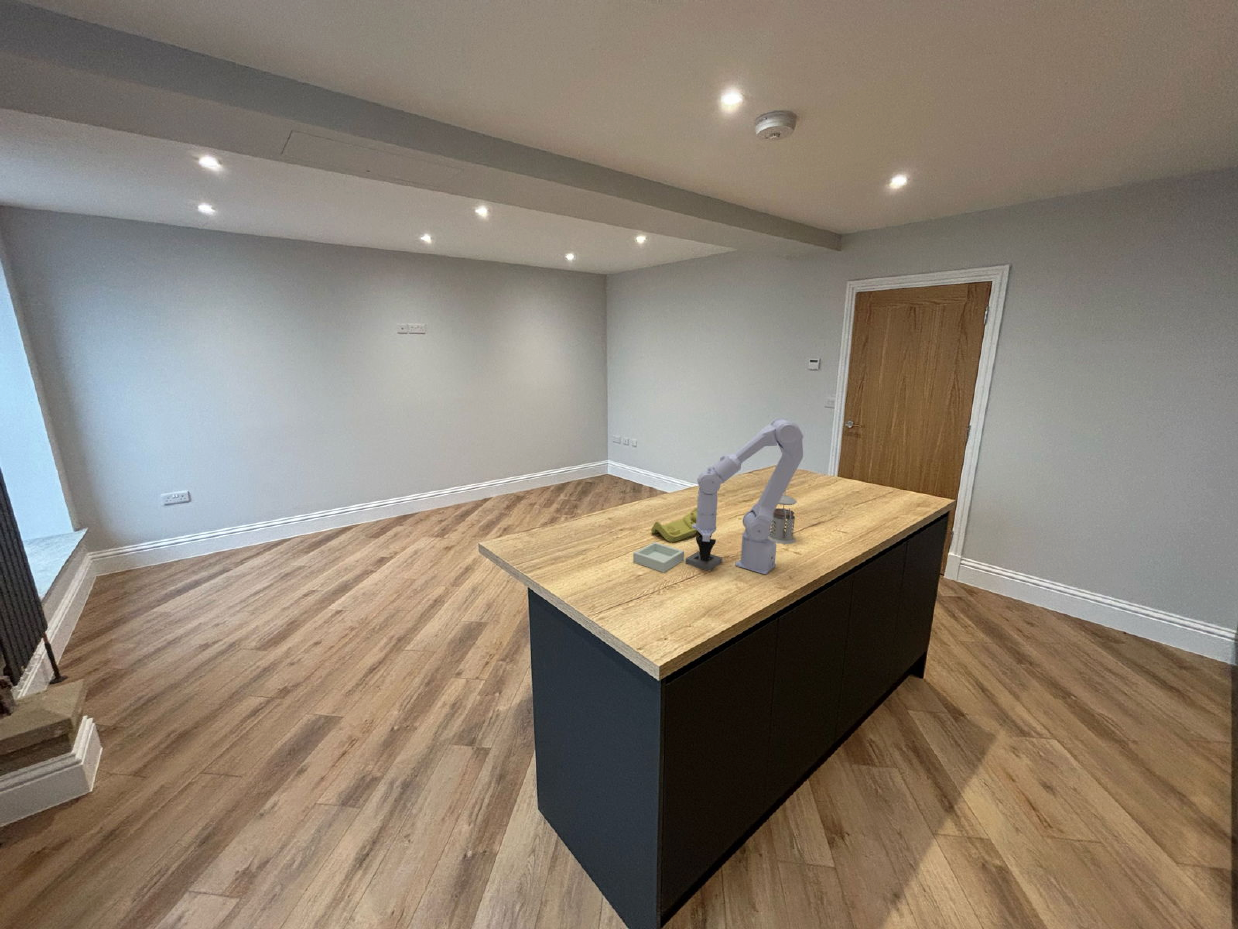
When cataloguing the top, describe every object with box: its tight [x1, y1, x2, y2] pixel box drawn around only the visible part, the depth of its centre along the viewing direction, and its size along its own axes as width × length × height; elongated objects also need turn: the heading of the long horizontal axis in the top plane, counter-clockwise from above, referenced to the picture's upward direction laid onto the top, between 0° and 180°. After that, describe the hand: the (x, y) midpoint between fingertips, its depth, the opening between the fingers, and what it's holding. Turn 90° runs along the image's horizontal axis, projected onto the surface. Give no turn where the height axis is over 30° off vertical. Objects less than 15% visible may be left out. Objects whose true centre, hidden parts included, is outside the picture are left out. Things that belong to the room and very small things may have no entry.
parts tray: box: [632, 541, 685, 573], centre depth 139 cm, size 11×11×3 cm
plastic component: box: [650, 507, 697, 543], centre depth 162 cm, size 20×7×10 cm
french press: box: [768, 489, 798, 545], centre depth 155 cm, size 10×12×25 cm
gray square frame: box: [685, 550, 723, 572], centre depth 138 cm, size 8×8×2 cm
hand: (704, 555), depth 138 cm, fingers open, 7 cm apart
